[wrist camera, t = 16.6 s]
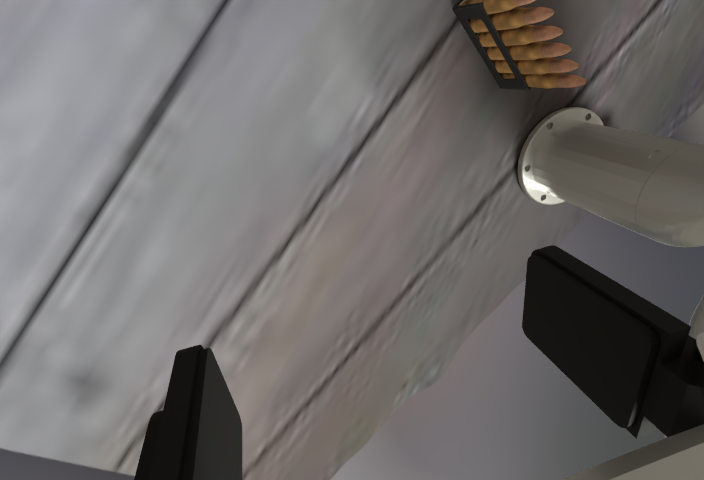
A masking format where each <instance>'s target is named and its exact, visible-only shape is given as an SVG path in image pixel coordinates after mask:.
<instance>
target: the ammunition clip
mask: <svg viewBox="0 0 704 480" xmlns="http://www.w3.org/2000/svg"><path fill="white" fill-rule="evenodd" d="M534 1H536V0H460V1H459V2H458V3H457V4H456V5H455V6H454V7H453V11H454V12H455V14H456V16H457V17H458V19H459V21H460V22H461V24H462V26H463V27H464V29H465V30H466V32H467V34H468V35H469V37H470V39H471V40H472V42H473V43H474V45H475V47H476V48H477V50H478V52H479V53H480V55H481V57H482V58H483V60H484V61H485V63H486V65H487V66H488V68H489V70H490V71H491V73H492V75H493V76H494V78H495V79H496V81H497V83H498V84H499V86H500V88H505V89H521V90H530V89H531V87H537V88H548V89H549V88H561V87H563V88H571V87H578V86H582V85H584V84H586V83H587V81H586V80H585V79H584V78H582V77H580V76H577V75H572V74H565V73H563V72H569V71H572V70H575V69H577V68H578V67H579V64H578V63H576V62H574V61H572V60H568V59H559V58H550V57H556V56H560V55H564V54H566V53H568V52H570V51H571V47H570V46H568V45H566V44H562V43H555V42H541V41H545V40H549V39H553V38H555V37H558V36H559V35H561V34H562V33H563V30H562V29H561V28H559V27H556V26H549V25H543V26H540V25H538V26H534V25H528V24H532V23H537V22H540V21H543V20H546V19H548V18H549V17H551V16H552V15H553V14H554V11H553V10H552V9H550V8H546V7H533V8H531V7H530V8H522V7H518V6H521V5H525V4H529V3H531V2H534ZM515 7H516V8H515Z"/></svg>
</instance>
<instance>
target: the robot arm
mask: <svg viewBox="0 0 704 480" xmlns="http://www.w3.org/2000/svg"><path fill="white" fill-rule="evenodd" d="M518 179H519V183H520V186H521V188H522V190H523V191H524V193H525V194H526V195H527V196H528V197H529V198H531V199H533V200H535V201H537V202H539V203H542V204H548V205H549V204H558V203H562V202H564V201H567V202H569V203H571V204H573V205H576V206H578V207H580V208H582V209H585V210H587V211H589V212H592V213H594V214H596V215H598V216H601V217H603V218H605V219H607V220H610V221H612V222H614V223H616V224H619V225H621V226H623V227H625V228H628V229H630V230H632V231H635V232H637V233H639V234H642V235H644V236H646V237H649V238H651V239H653V240H655V241H658V242H660V243H663V244H667V245H671V246H679V247H694V246H703V245H704V144H698V143H692V142H687V141H682V140H676V139H671V138H666V137H660V136H655V135H650V134H644V133H639V132H634V131H628V130H623V129H618V128H612V127H607V126H604V125H603V122H602V121H601V119H600V118H599V116H598V115H596V114H595V113H594V112H593V111H591V110H588V109H586V108H580V107H567V108H563V109H560V110H557V111H555V112H553V113H551V114H550V115H548V116H547V117H545V118H544V119H543V120H542V121H541V122H540V123H539V124H538V125H537V126H536V127H535V128H534V129H533V130H532V132H531V133H530V134H529V136H528V138H527V139H526V141H525V143H524V145H523V148H522V150H521V153H520V157H519V161H518ZM525 287H526V288H525V298H524V310H523V322H522V328H523V331H524V333H525V335H526V336H527V337H528V338H529V340H531V342H532V343H534V344H535V345H536V346H537V347H538V348H539V349H540V350H541V351H542V352H543V353H544V354H545V355H546V356H547V357H548V358H549V359H550V360H551V361H552V362H553V363H554V364H555V365H556V366H557V367H558V368H559V369H560V370H561V371H562V372H563V373H564V374H565V375H566V376H567V377H568V378H569V379H571V380H572V382H573V383H574V384H575V385H577V386H578V387H579V388H580V389H581V390H582V391H583V392H584V393H585V394H586V395H587V396H588V397H589V398H590V399H591V400H592V401H593V402H594V403H595V404H596V405H597V406H598V407H599V408H600V409H601V410H602V411H603V412H604V413H605V414H606V415H607V416H608V417H609V418H610V419H611V420H612V421H613V422H614V423H616V424H617V425H618V426H620V427H622V428H626V429H627V430H628V431H629V432H630V433H631V434H632V435H633V436H634V437H635V438H636V439H637V438H640V437H643V436H645V435H647V434H650V433H653V432H654V431H655V429H656V427H657V428H658V429H659V430H660V431H661V432H662V433H664V437H665V439H663V440H660V441H658V442H655V443H653V444H650V445H648V446H645V447H642V448H640V449H637V450H635V451H632V452H629V453H627V454H625V455H622V456H619V457H617V458H614V459H612V460H609V461H607V462H604V463H602V464H599V465H597V466H594V467H592V468H589V469H586V470H584V471H581V472H579V473H576V474H574V475H571V476H569V477H567V478H564V479H561V480H704V295H703V297H702V299H701V300H700V303H699V304H698V306H697V308H696V310H695V312H694V314H693V316H692V318H691V321H690V324H689V325H687V324H685V323H684V322H682V321H681V320H679V319H677V318H676V317H674V316H672V315H671V314H669V313H667V312H666V311H664V310H662V309H661V308H659V307H657V306H655V305H654V304H652V303H650V302H649V301H647V300H645V299H644V298H642V297H640V296H638V295H637V294H635V293H634V292H632V291H630V290H629V289H627V288H625V287H623V286H622V285H620V284H618V283H617V282H615V281H614V280H612V279H610V278H608V277H607V276H605V275H603V274H602V273H600V272H599V271H597V270H595V269H594V268H592V267H590V266H588V265H587V264H585V263H583V262H582V261H580V260H578V259H577V258H575V257H573V256H572V255H570V254H568V253H567V252H565V251H563V250H562V249H560V248H558V247H556V246H548V247H544V248H541V249H537V250H535V251H533V252H532V254H531V257H529V258H528V262H527V274H526V286H525ZM134 480H242V423H241V419H240V415H239V413H238V411H237V408H236V406H235V404H234V401H233V399H232V396H231V394H230V392H229V389H228V387H227V385H226V382H225V380H224V378H223V375H222V373H221V371H220V368H219V366H218V364H217V361H216V359H215V357H214V354H213V352H212V350H211V349H210V348H207V349H204V348H203V347H202V346H201V345H197V346H193V347H190V348H186V349H183V350H179V351H177V353H176V356H175V360H174V365H173V369H172V374H171V378H170V383H169V387H168V392H167V396H166V401H165V405H164V410H163V411H160V412H156V413H154V414H153V415H152V416H151V418H150V421H149V424H148V428H147V432H146V436H145V439H144V443H143V447H142V451H141V455H140V459H139V463H138V467H137V471H136V475H135V479H134Z"/></svg>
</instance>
